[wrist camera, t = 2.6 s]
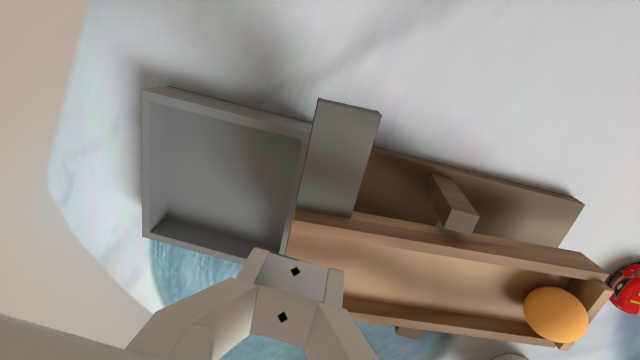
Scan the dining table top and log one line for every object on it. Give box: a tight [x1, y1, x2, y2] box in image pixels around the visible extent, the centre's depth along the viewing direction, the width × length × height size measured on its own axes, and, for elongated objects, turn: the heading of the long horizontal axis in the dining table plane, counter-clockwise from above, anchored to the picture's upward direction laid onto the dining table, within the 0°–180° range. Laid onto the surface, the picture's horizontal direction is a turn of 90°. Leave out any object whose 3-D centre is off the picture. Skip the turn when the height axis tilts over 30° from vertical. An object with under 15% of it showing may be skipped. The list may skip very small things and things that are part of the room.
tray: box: [141, 86, 313, 265], centre depth 31 cm, size 16×16×4 cm
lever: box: [284, 98, 614, 351], centre depth 23 cm, size 16×24×4 cm, turn 77°
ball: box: [523, 286, 589, 343], centre depth 24 cm, size 4×4×4 cm
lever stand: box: [353, 146, 585, 340], centre depth 28 cm, size 14×24×9 cm, turn 77°
